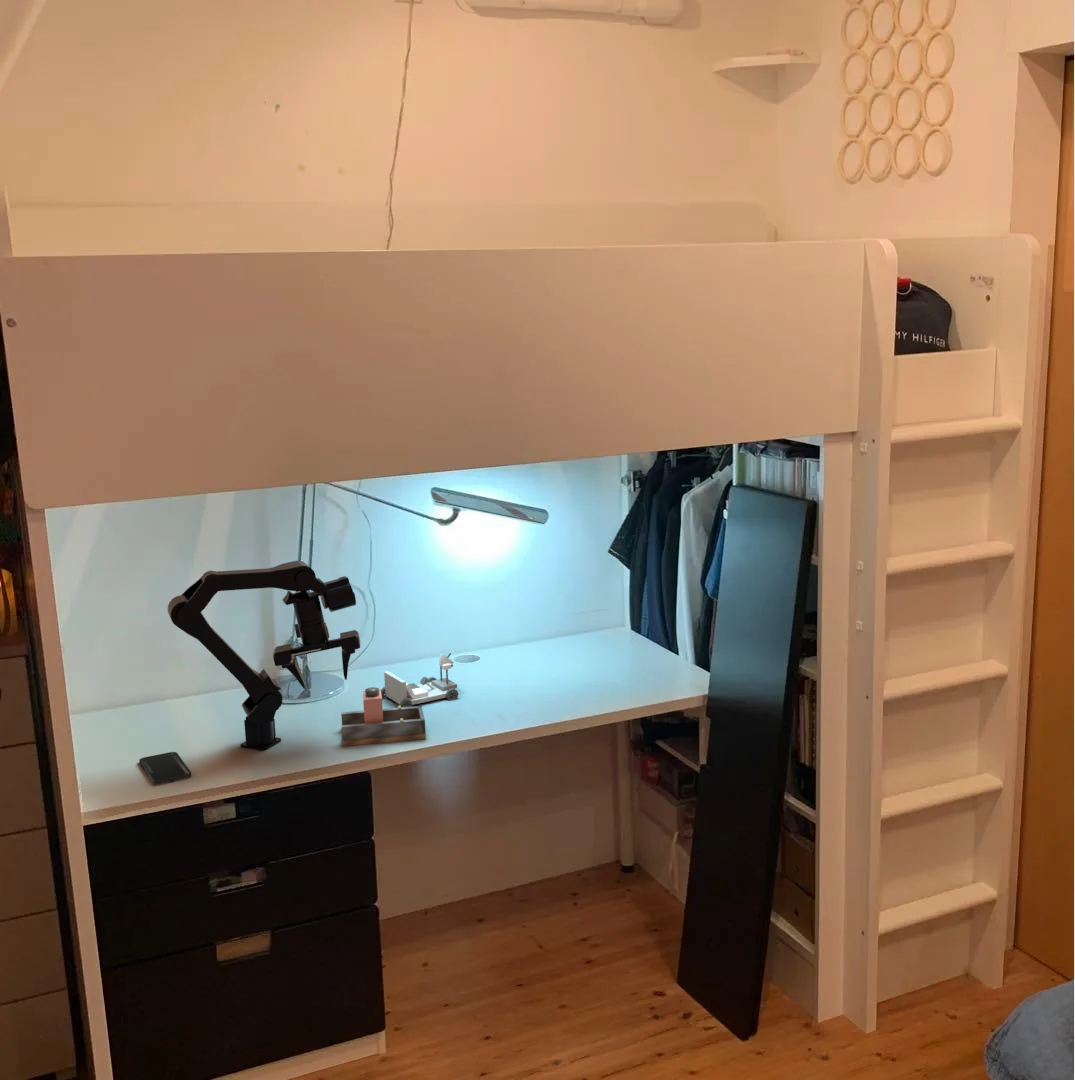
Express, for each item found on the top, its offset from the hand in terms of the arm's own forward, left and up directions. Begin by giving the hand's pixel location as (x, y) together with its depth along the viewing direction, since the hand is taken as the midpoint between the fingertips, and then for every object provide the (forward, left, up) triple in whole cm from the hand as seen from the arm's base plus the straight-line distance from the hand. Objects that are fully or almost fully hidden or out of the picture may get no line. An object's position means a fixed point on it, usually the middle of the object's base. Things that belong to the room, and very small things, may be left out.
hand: (325, 683), depth 256 cm
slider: (+3, -10, -10) cm, 15 cm away
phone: (-30, +20, -12) cm, 38 cm away
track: (+4, -12, -12) cm, 17 cm away
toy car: (+29, -8, -12) cm, 32 cm away
